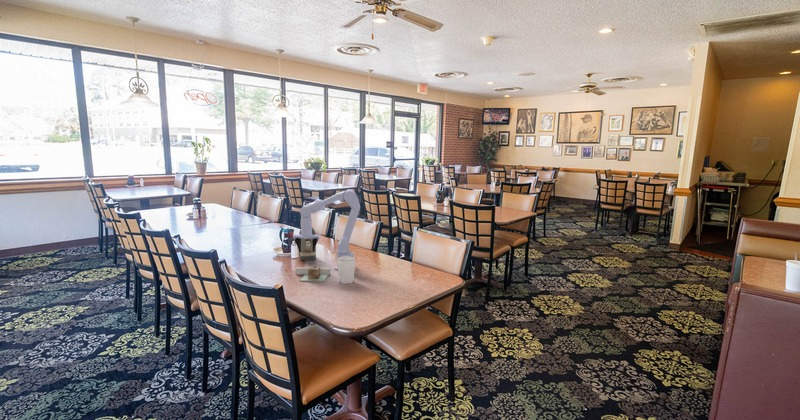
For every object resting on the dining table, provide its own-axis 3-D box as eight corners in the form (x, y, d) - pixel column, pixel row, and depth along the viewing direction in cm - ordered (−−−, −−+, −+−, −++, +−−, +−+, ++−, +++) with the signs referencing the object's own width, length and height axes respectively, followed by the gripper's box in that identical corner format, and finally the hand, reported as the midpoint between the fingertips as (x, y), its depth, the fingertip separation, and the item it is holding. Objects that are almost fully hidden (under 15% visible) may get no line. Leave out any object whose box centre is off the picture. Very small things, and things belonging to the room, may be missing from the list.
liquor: (299, 257, 231) (298, 208, 227) (314, 256, 234) (314, 208, 229) (300, 261, 223) (299, 211, 218) (316, 260, 225) (315, 210, 221)
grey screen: (330, 274, 200) (330, 268, 200) (330, 275, 199) (330, 268, 199) (296, 273, 200) (296, 267, 200) (296, 274, 199) (295, 268, 199)
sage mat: (327, 276, 198) (327, 274, 198) (324, 281, 189) (324, 280, 189) (304, 275, 198) (304, 274, 198) (300, 281, 189) (300, 280, 189)
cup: (358, 280, 193) (358, 257, 191) (350, 285, 184) (350, 262, 182) (342, 277, 195) (342, 255, 194) (334, 283, 187) (333, 260, 185)
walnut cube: (320, 275, 196) (320, 265, 195) (318, 279, 191) (317, 268, 190) (310, 275, 196) (310, 265, 195) (308, 278, 191) (308, 268, 190)
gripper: (291, 228, 203) (291, 253, 205) (318, 229, 203) (318, 253, 205) (294, 226, 210) (295, 249, 212) (320, 226, 210) (321, 250, 212)
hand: (306, 251), depth 209 cm, fingers open, 7 cm apart
